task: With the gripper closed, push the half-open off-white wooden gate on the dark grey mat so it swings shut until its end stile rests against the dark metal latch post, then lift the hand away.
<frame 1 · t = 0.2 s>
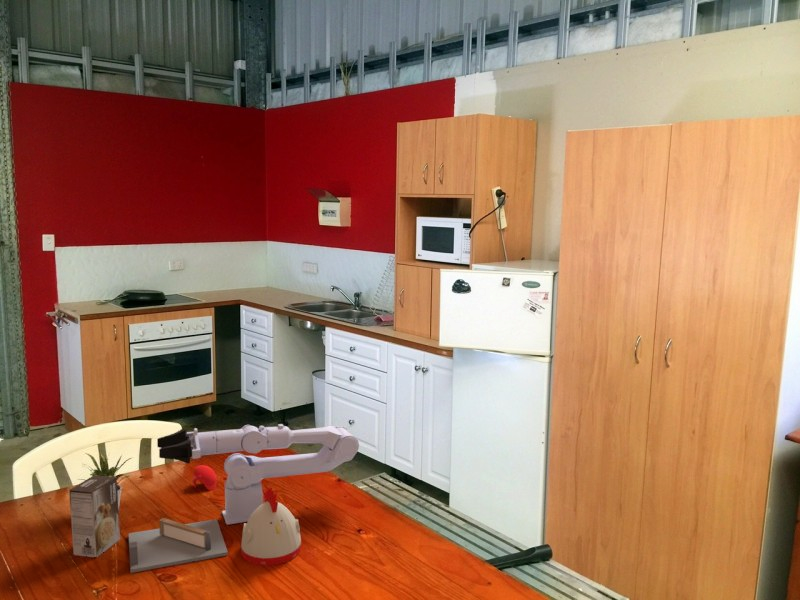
hand: (158, 448, 167), 21 cm above the table, tool horizontal, fingers open, 7 cm apart
cap: (205, 487, 196), on the table
coffee box: (97, 548, 161), on the table
house plant: (102, 512, 180), on the table
kitchen timer: (271, 550, 161), on the table
gate: (183, 532, 162), point 3 cm above the table, hinge at -50.0°
gate frame: (176, 545, 162), on the table
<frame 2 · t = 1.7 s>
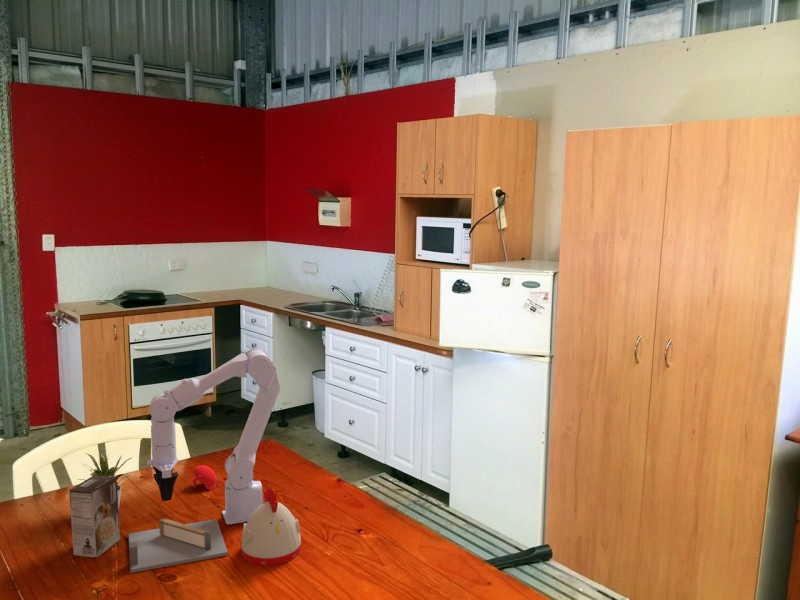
hand: (165, 495, 170), 8 cm above the table, tool pointing down, fingers open, 6 cm apart
nothing on the table moved.
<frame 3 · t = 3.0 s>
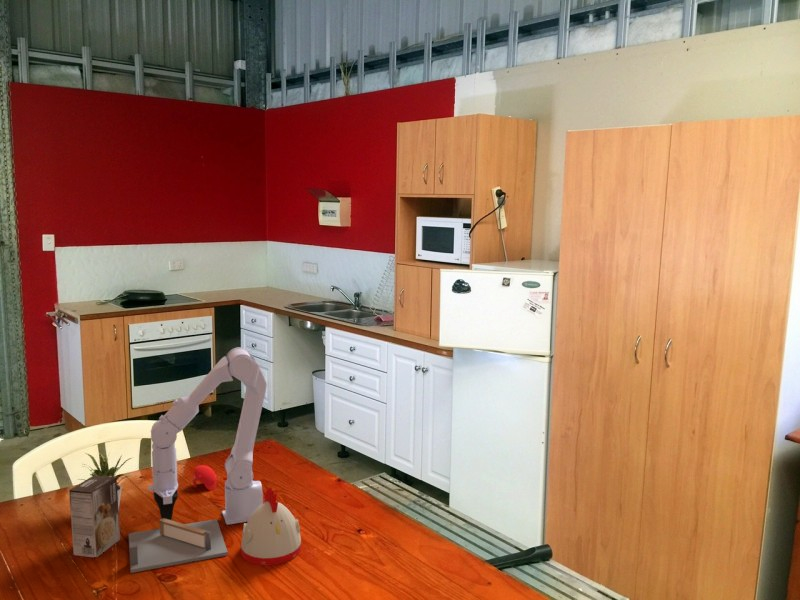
hand: (166, 519, 171), 2 cm above the table, tool pointing down, fingers closed
nothing on the table moved.
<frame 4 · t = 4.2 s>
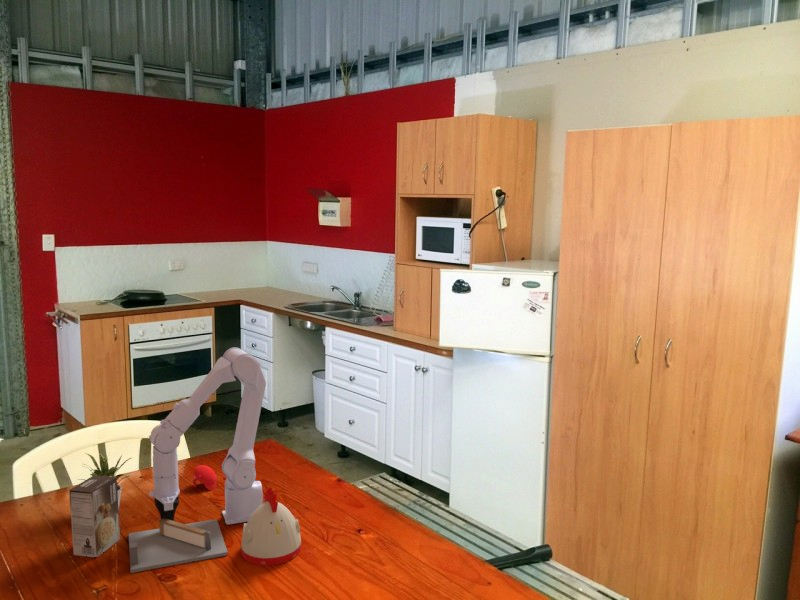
hand: (167, 526, 168), 2 cm above the table, tool pointing down, fingers closed, pressing on gate
gate: (183, 532, 162), point 3 cm above the table, hinge at -50.0°, touching gripper
everything else where it was.
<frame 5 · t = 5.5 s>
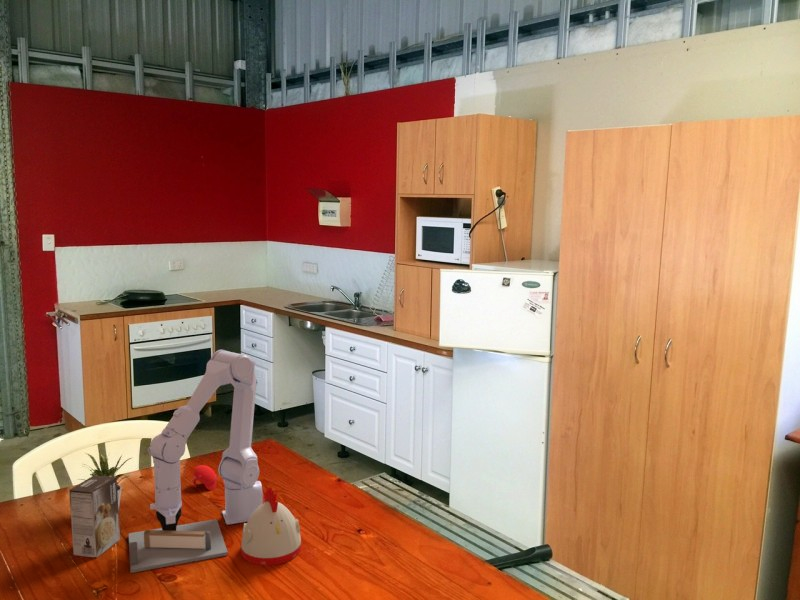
hand: (169, 539, 161), 2 cm above the table, tool pointing down, fingers closed
gate: (174, 539, 159), point 3 cm above the table, hinge at -24.5°, touching gripper
everything else where it was.
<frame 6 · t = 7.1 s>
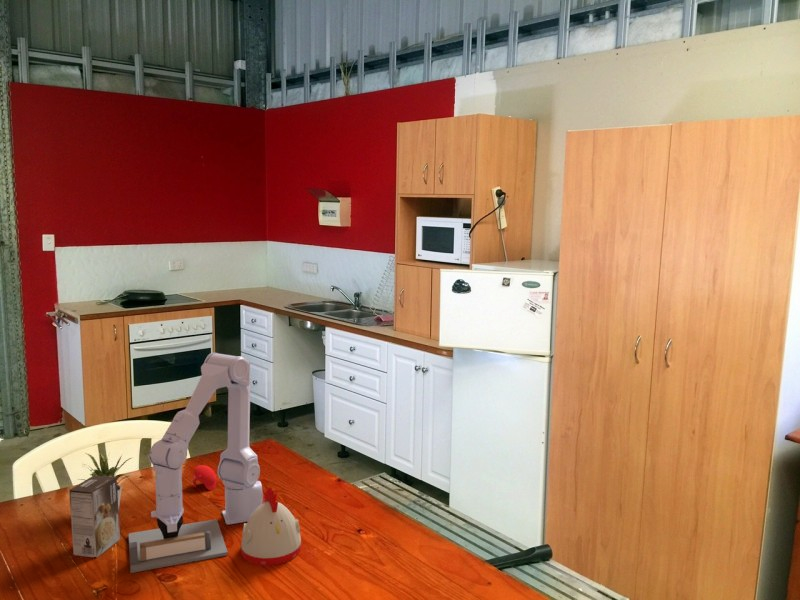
hand: (170, 547, 157), 2 cm above the table, tool pointing down, fingers closed
gate: (172, 546, 156), point 3 cm above the table, hinge at 0.2°, touching gripper
everything else where it was.
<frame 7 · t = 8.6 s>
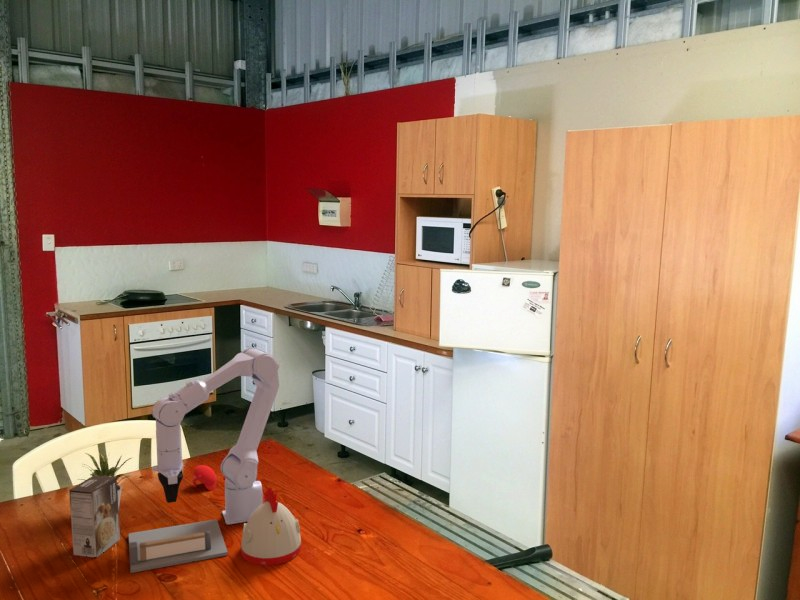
hand: (171, 501, 166), 9 cm above the table, tool pointing down, fingers closed
gate: (172, 546, 156), point 3 cm above the table, hinge at 0.2°
everything else where it was.
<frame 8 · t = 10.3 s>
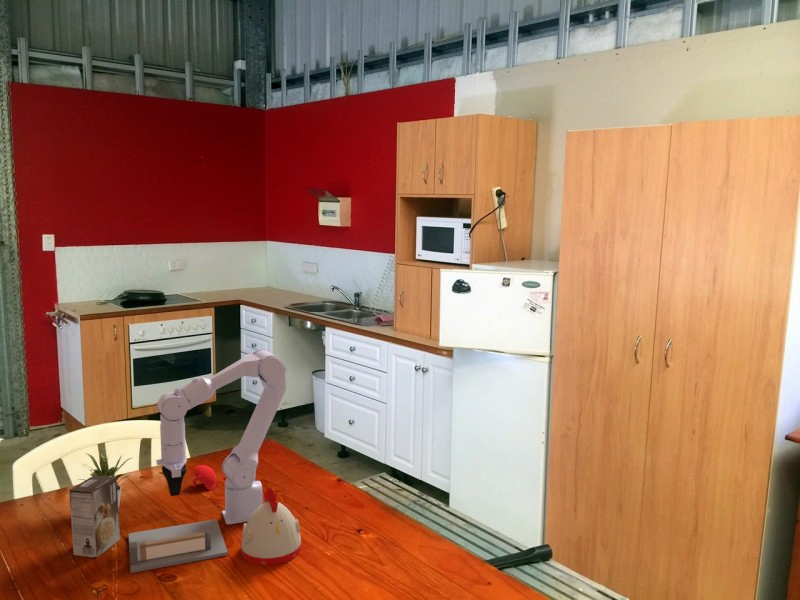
hand: (175, 494, 168), 9 cm above the table, tool pointing down, fingers closed
nothing on the table moved.
at the end: gate at +0° (first picture: -50°) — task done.
